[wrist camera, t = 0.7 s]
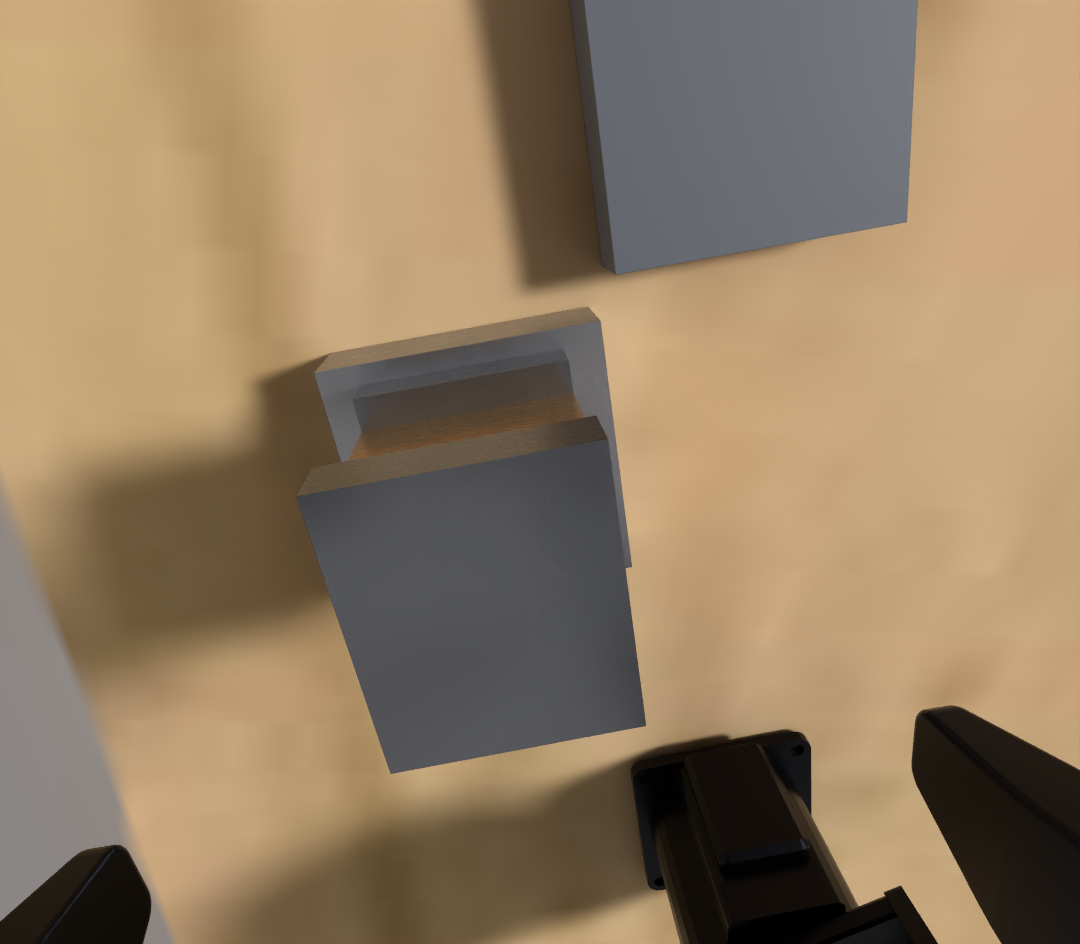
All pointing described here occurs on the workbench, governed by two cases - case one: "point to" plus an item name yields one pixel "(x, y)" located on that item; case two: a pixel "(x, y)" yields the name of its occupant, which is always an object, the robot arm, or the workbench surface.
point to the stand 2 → (743, 122)
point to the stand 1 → (477, 346)
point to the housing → (478, 563)
